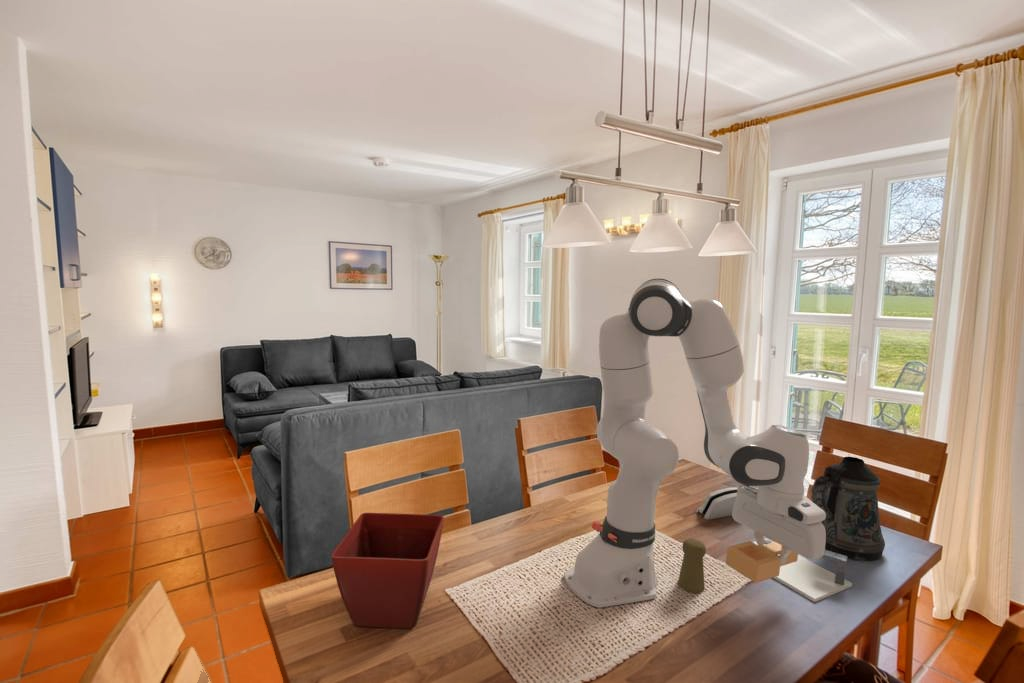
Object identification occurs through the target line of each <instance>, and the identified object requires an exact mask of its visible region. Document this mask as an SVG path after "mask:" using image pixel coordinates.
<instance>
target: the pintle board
mask: <svg viewBox="0 0 1024 683" xmlns="http://www.w3.org/2000/svg"><path fill="white" fill-rule="evenodd" d="M764 541H765V544H769V543H773V542H774V541H773V540H771V539H769V538H767V537H765V538H764ZM752 542H753V543H755V544H756V545H758V544H757V542H756V540H755V541H752ZM835 574H836V573H835V572H834V573H833V572H831V571H829V570H828V569H826V568H823V567H822V566H820V565H818V564H816V563H814V562H813V561H811V560H809V559H807V558H805V557H803V556H801V555H799V554H798V559H797V561H796V562H793V563H790V564H787V565H784V566H780V572H779V576H777V577H773V578H772V579H774V580H776V581H777V582H779V583H781V584H783V585H785V586H786V587H788V588H790V589H792V590H793V591H794V592H796V593H798V594H800V595H802V597H805V598H807V599H808V600H811V601H812V602H813V603H817V602H818V601H821V600H823V599H825V598H828V597H831V596H832V595H835V594H838V593H839V592H842V591H844V590H846V589H849V588H851V587H853V582H851V581H850V580H847V579H845V581H844V586H843V585H840V584H837V583H835Z"/></svg>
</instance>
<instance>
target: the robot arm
mask: <svg viewBox="0 0 1024 683" xmlns="http://www.w3.org/2000/svg"><path fill="white" fill-rule="evenodd" d="M650 337H678V338H679V341H680V343H681V346H682V349H683V352H684V356H685V359H686V362H687V366H688V369H689V371H690V373H691V377H692V378H693V381H694V385H695V388H696V394H697V397H698V402H699V405H700V410H701V415H702V419H703V422H704V427H705V428H704V429H705V430H704V431H705V432H704V440H703V450H704V451H703V452H704V455H705V456H706V458H707V459H708V461H709V462H710V464H712V465H714V466H716V467H717V468H719V469H720V470H721V471H723V472H724V473H725V474H726V475H728V476H729V477H730V478H731V479H733V480H734V481H735V482H737V483H739V484H740V485H739V486H738V487H737V488H738V489H737V497H736V500H735V503H734V507H733V511H732V515H731V516H732V519H733V520H734V521H735V522H737V523H739V524H741V525H742V526H745V527H746V528H748V529H750V530H752V531H754V533H753V535H754V539H755V541H756V542H757V544H758V546H762V545H765V541H764V539H765V538H766V539H768V540H770V541H772V542H777V543H778V544H780V545H782V547H781V549H782V550H784V551H783V552H782V553H779V554H776V556H778V557H780V558H781V565H782V564H785V563H786V558H787V556H788V555H789V554H790V553H791V552H792V551H794V552H796V553H797V554H798V555H799V556H801V557H803V558H805V559H807V560H809V561H815V560H818V559H820V558H822V556H823V555H824V551H825V550H826V549H825V543H826V530H825V527H824V525H823V524H822V523H821V521H823V520H825V518H826V513H825V512H824V511H823V510H822V509H821V508H820V507H818V506H817V505H816V504H814V503H813V501H812V499H810V498H808V496H806V495H805V486H804V480H805V478H806V475H807V473H808V468H809V459H810V458H809V457H810V444H809V440H808V438H807V436H806V435H805V434H803V433H802V432H800V431H798V430H796V429H792V428H790V427H787V426H784V425H779V424H772V425H770V427H768V429H766V430H764V431H762V432H760V433H758V434H756V435H752V436H751V435H750V436H747V435H745V434H744V433H743V432H742V431H741V430H740V429H739V428H738V427H737V425H736V423H735V422H734V419H733V415H732V410H731V406H730V401H729V397H728V391H729V388H730V387H732V386H734V385H735V384H736V383H737V382H739V381H740V379H741V378H742V376H743V374H744V371H745V370H744V357H743V352H742V349H741V346H740V342H739V340H738V337H737V334H736V330H735V328H734V325H733V324H732V322H731V319H730V318H729V315H728V313H727V311H726V310H725V308H724V306H723V304H721V303H720V302H719V301H717V300H715V299H710V298H704V299H697V300H693V301H692V300H691V301H689V300H687V299H685V298H684V297H683V296H682V294H681V291H680V289H679V288H678V286H676V284H674V283H673V282H672V281H670V280H667V279H665V278H652V279H649V280H647V281H645V282H643V283H642V284H641V285H639V286H638V287H637V288H636V290H635V291H634V293H633V295H632V297H631V300H630V303H629V305H628V309H627V311H626V312H625V313H622V314H618V315H613V316H611V317H609V318H608V319H606V320H605V321H603V322H602V324H601V325H600V329H599V338H598V340H599V341H598V342H599V343H598V350H599V351H598V352H599V366H600V372H601V380H602V390H603V408H602V409H603V410H602V416H601V418H600V420H598V423H597V426H596V436H597V440H598V442H599V443H600V445H601V446H602V447H603V449H604V450H605V451H606V452H607V453H608V454H610V455H611V456H612V457H613V458H615V459H616V460H617V461H618V463H619V469H618V470H619V471H618V475H617V477H616V479H615V480H614V481H613V482H611V484H610V485H608V488H607V500H606V504H607V505H606V515H605V517H604V519H603V522H602V523H600V522H599V521H598V520H594V521H592V523H591V529H593V530H594V531H596V532H597V533H598V532H599V534H598V535H597V536H595V538H593V539H592V540H591V541H590V542H589V543H588V544H587V545H585V547H584V548H583V549H582V550H581V551H579V552H578V553H577V555H576V558H575V563H574V566H573V567H572V568H569V569H567V570H565V571H564V576H563V577H564V582H565V583H566V585H567V587H568V588H569V590H570V591H571V592H572V593H573V594H575V595H576V597H578V598H579V599H580V600H582V601H583V602H584V603H586V604H588V605H590V606H592V607H594V608H598V609H599V608H600V609H601V608H605V607H612V606H613V607H614V606H617V605H623V604H624V605H625V604H631V603H636V602H642V601H649V600H654V599H655V598H656V597H657V591H656V587H657V585H658V578H657V574H656V569H655V559H654V558H655V557H654V542H655V541H656V523H655V513H656V503H657V502H656V501H657V495H658V490H659V488H660V486H661V483H662V481H663V480H664V479H666V478H668V477H670V475H672V473H674V471H675V470H676V468H677V466H678V463H679V458H680V456H679V455H680V454H679V449H678V447H677V444H676V443H674V441H673V440H672V439H671V438H670V437H669V436H668V435H667V434H666V433H665V432H664V431H662V430H661V429H659V428H657V427H655V426H653V425H651V424H649V423H648V422H647V419H646V406H647V404H648V402H649V401H650V400H651V399H652V397H653V393H654V389H653V388H654V387H653V381H652V380H653V379H652V372H651V371H652V370H651V364H650V363H651V360H650V352H649V339H650ZM764 537H765V538H764Z"/></svg>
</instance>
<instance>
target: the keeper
mask: <svg viewBox="0 0 1024 683" xmlns="http://www.w3.org/2000/svg"><path fill="white" fill-rule="evenodd" d="M821 558H823V559H826V560H829V561H833V562H835V563H836V566H835V573H834V574H835V583H837V584H840V585H843V586H844V581H845V580H846V570H847V562H848V558H847V556H845V555H841V554H838V553H835V552H831V551H828V550H826V549H825V551H824V555H823V556H822V557H821Z"/></svg>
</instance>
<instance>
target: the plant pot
mask: <svg viewBox="0 0 1024 683" xmlns="http://www.w3.org/2000/svg"><path fill="white" fill-rule="evenodd" d="M444 518H445V517H444V516H443V515H439V514H424V513H423V514H419V513H418V514H417V513H415V514H414V513H395V512H394V513H393V512H391V513H390V512H389V513H388V512H386V513H385V512H363V513H361V514H360V515H359V516H358V518H357V519H356V521H355V522H354V523H353V525H352V526H351V528H349V530H348V531H347V533H346V534H345V536H344V537H343V539H342V540H341V541H340V542H339V544H338V545H337V546H336V548H335V549H334V550H333V551H332V553H331V562H332V566H333V570H334V571H333V572H334V575H335V579H336V583H337V587H338V590H339V594H340V595H341V599H342V602H343V604H344V607H345V609H346V611H347V613H348V615H349V618H350V620H351V621H352V624H353V625H354V626H356V627H369V628H371V627H373V628H391V629H394V628H395V629H413V628H415V627H416V626H417V624H418V621H419V618H420V615H421V612H422V608H423V605H424V602H425V599H426V596H427V593H428V591H429V588H430V584H431V581H432V578H433V574H434V570H435V566H436V562H437V558H438V554H439V549H440V544H441V539H442V533H443V526H444Z"/></svg>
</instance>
